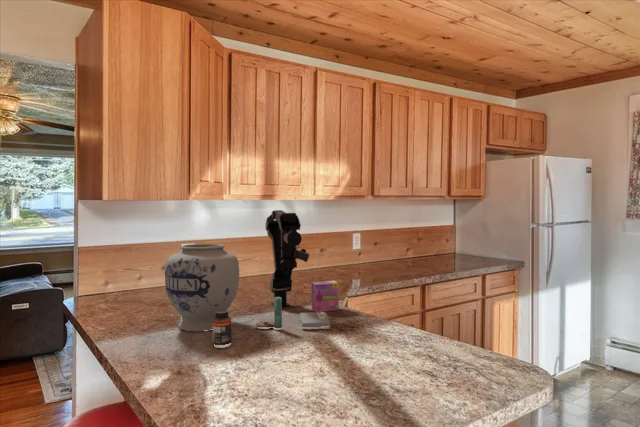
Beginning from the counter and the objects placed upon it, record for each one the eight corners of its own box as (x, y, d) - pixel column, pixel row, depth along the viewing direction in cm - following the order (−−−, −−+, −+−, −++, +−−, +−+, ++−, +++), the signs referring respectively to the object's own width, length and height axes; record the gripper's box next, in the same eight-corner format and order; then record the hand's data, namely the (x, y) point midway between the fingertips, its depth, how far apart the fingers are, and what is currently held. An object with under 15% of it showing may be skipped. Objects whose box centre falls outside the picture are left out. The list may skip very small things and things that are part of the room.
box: (314, 312, 178) (314, 284, 177) (311, 309, 183) (311, 281, 183) (338, 310, 180) (338, 282, 180) (334, 307, 186) (334, 280, 186)
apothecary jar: (166, 319, 169) (164, 242, 168) (234, 312, 178) (233, 240, 177) (165, 340, 144) (163, 250, 143) (245, 331, 153) (244, 247, 152)
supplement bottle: (224, 341, 142) (223, 307, 142) (235, 345, 139) (235, 310, 138) (208, 346, 138) (208, 311, 137) (220, 350, 134) (220, 314, 133)
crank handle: (268, 323, 163) (267, 292, 163) (284, 329, 155) (284, 297, 155) (252, 326, 159) (251, 295, 158) (268, 333, 151) (268, 300, 150)
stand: (300, 319, 168) (300, 307, 168) (325, 318, 169) (325, 306, 169) (302, 330, 154) (302, 316, 154) (330, 329, 155) (330, 315, 155)
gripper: (309, 246, 166) (310, 286, 167) (306, 241, 185) (306, 277, 185) (280, 246, 165) (281, 287, 166) (280, 241, 184) (280, 278, 184)
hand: (288, 282), depth 175 cm, fingers closed
